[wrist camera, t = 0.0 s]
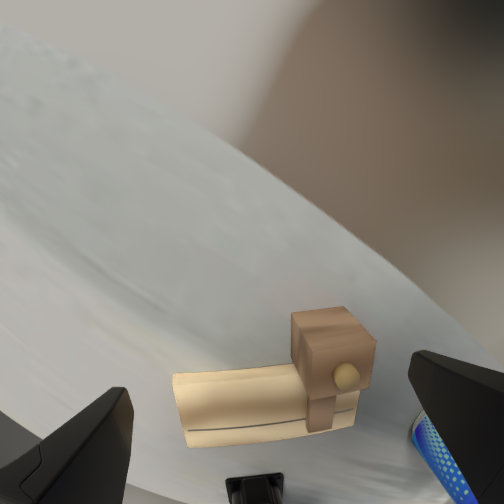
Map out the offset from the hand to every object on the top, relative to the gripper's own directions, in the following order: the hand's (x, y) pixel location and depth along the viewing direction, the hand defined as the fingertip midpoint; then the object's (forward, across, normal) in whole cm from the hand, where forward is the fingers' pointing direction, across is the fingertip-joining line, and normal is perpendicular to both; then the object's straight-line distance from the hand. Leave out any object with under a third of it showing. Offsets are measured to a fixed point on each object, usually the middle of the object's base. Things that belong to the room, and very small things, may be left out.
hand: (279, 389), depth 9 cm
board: (+15, -2, +13) cm, 20 cm away
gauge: (+15, -6, +10) cm, 19 cm away
